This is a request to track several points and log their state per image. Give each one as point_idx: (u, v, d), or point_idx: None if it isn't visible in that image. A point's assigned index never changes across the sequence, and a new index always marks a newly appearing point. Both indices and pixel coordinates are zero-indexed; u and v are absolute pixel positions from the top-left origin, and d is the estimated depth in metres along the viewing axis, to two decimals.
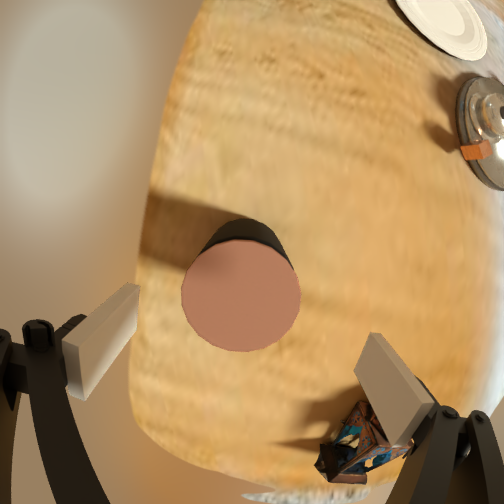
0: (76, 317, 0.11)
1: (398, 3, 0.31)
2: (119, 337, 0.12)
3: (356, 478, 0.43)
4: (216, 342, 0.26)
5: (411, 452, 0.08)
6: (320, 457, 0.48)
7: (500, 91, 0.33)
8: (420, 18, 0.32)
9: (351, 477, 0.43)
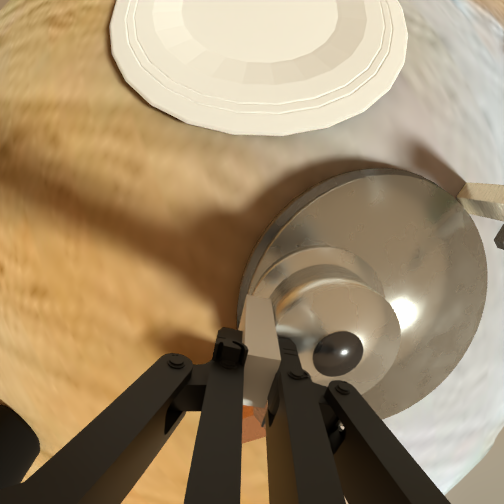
0: (222, 330, 0.14)
1: (113, 46, 0.17)
2: None
3: None
4: None
5: (268, 422, 0.10)
6: None
7: (411, 208, 0.18)
8: (162, 58, 0.17)
9: None
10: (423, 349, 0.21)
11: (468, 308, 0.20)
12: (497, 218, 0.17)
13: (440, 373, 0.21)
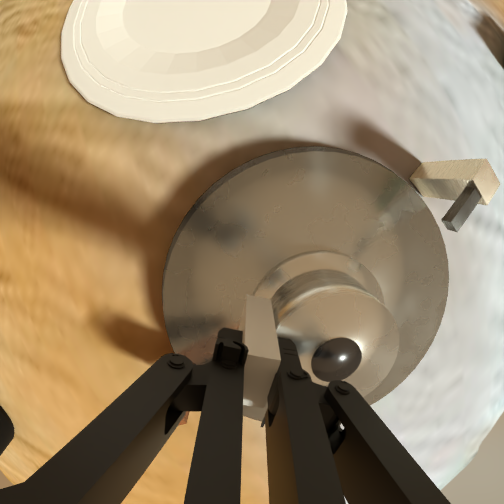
0: (222, 330, 0.14)
1: (62, 51, 0.16)
2: None
3: None
4: None
5: (268, 422, 0.10)
6: None
7: (339, 186, 0.18)
8: (99, 58, 0.17)
9: None
10: None
11: (425, 302, 0.20)
12: (454, 198, 0.16)
13: (395, 374, 0.21)
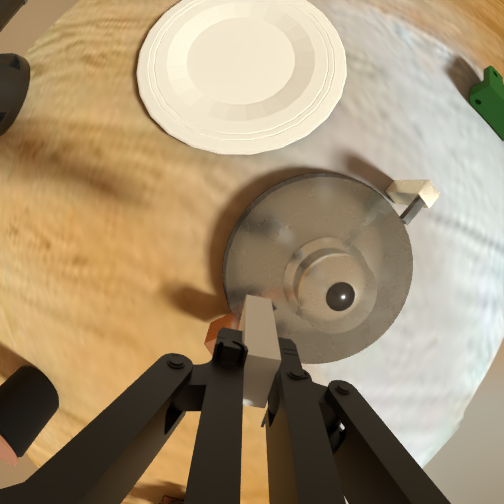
0: (222, 330, 0.14)
1: (140, 90, 0.28)
2: None
3: None
4: None
5: (269, 422, 0.10)
6: None
7: (337, 198, 0.29)
8: (174, 101, 0.29)
9: None
10: None
11: (396, 273, 0.31)
12: None
13: (379, 325, 0.33)
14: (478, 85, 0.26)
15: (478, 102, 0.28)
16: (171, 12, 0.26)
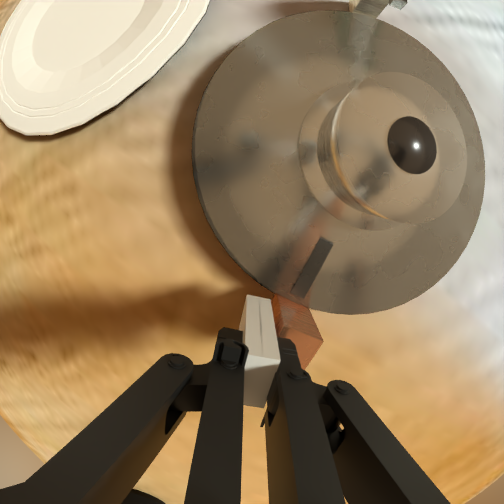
0: (222, 331, 0.14)
1: (5, 122, 0.17)
2: None
3: None
4: None
5: (268, 422, 0.10)
6: None
7: (297, 41, 0.15)
8: (40, 100, 0.17)
9: None
10: None
11: (443, 93, 0.16)
12: None
13: (474, 176, 0.17)
14: None
15: None
16: (0, 41, 0.14)
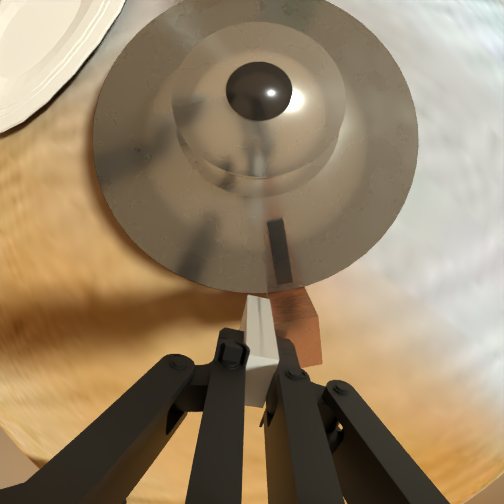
0: (223, 331, 0.14)
1: None
2: None
3: None
4: None
5: (267, 422, 0.10)
6: None
7: (132, 79, 0.16)
8: None
9: None
10: None
11: (286, 10, 0.14)
12: None
13: (374, 56, 0.15)
14: None
15: None
16: None
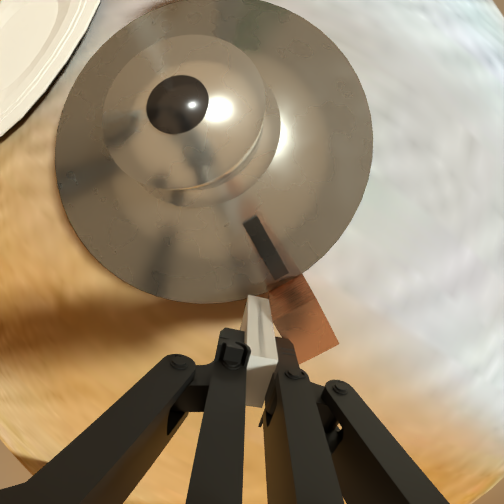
0: (224, 331, 0.14)
1: None
2: None
3: None
4: None
5: (266, 422, 0.10)
6: None
7: (78, 137, 0.17)
8: None
9: None
10: None
11: (191, 19, 0.15)
12: None
13: (290, 28, 0.15)
14: None
15: None
16: None
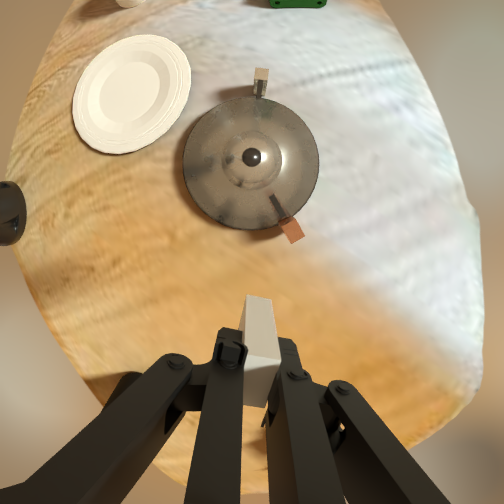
0: (222, 330, 0.14)
1: (90, 144, 0.46)
2: None
3: None
4: None
5: (269, 422, 0.10)
6: None
7: (196, 160, 0.45)
8: (111, 136, 0.46)
9: None
10: (267, 134, 0.45)
11: (244, 110, 0.44)
12: (265, 87, 0.41)
13: (286, 116, 0.44)
14: None
15: (279, 2, 0.40)
16: (76, 96, 0.43)
